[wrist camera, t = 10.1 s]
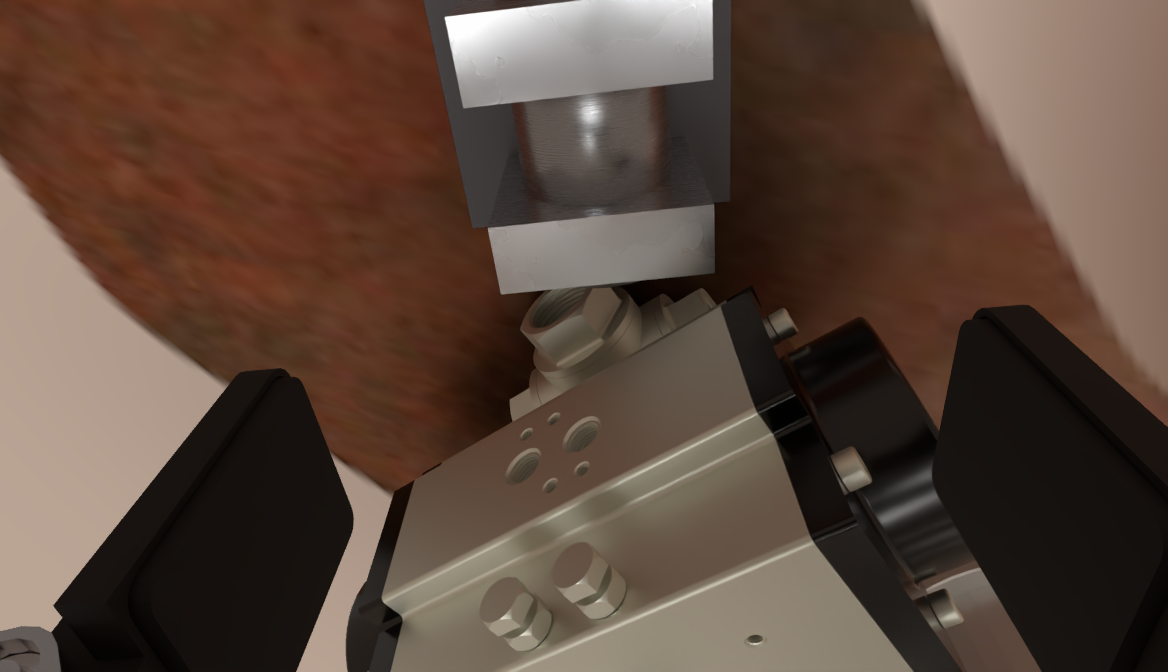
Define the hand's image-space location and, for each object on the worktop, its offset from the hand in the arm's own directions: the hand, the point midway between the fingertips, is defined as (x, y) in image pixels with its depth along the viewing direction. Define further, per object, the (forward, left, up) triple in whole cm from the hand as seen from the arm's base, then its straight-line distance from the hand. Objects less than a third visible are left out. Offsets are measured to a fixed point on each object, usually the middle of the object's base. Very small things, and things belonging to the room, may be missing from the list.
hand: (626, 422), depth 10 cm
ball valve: (-10, 0, -18) cm, 20 cm away
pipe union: (0, 0, -17) cm, 17 cm away
